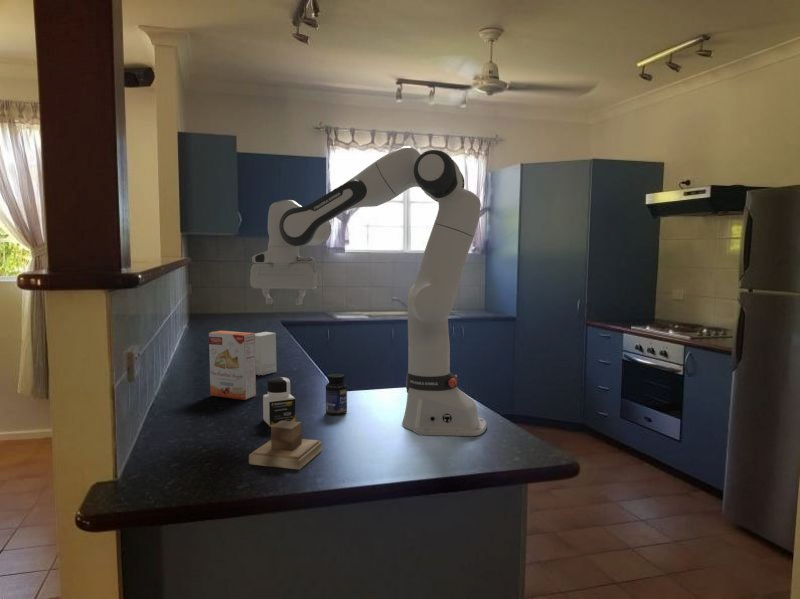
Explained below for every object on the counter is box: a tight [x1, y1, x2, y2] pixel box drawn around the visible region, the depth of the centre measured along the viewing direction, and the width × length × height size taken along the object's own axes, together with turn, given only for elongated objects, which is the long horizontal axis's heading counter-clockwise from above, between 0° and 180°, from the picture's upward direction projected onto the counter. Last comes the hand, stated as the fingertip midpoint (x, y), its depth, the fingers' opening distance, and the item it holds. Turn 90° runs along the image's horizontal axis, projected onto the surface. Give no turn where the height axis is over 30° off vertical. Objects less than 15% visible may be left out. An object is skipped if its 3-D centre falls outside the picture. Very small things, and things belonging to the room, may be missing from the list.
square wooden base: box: [248, 438, 323, 470], centre depth 124 cm, size 12×12×2 cm
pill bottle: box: [325, 373, 348, 416], centre depth 159 cm, size 6×6×11 cm
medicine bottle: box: [262, 376, 296, 428], centre depth 150 cm, size 7×7×12 cm
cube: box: [270, 420, 303, 451], centre depth 124 cm, size 5×5×5 cm
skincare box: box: [254, 331, 277, 376], centre depth 213 cm, size 8×7×16 cm
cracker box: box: [208, 330, 257, 401], centre depth 177 cm, size 14×6×21 cm, turn 68°
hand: (284, 304), depth 161 cm, fingers open, 8 cm apart
